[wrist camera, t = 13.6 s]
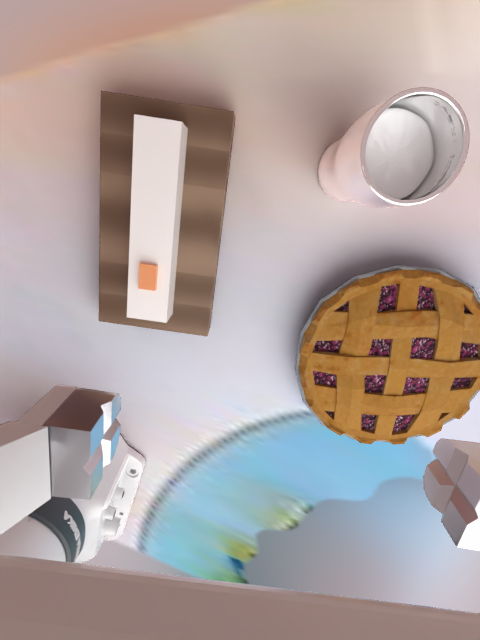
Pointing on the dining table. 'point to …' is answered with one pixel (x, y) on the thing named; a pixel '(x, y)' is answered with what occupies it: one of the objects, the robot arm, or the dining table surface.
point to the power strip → (155, 216)
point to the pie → (391, 354)
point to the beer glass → (398, 151)
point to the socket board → (196, 211)
